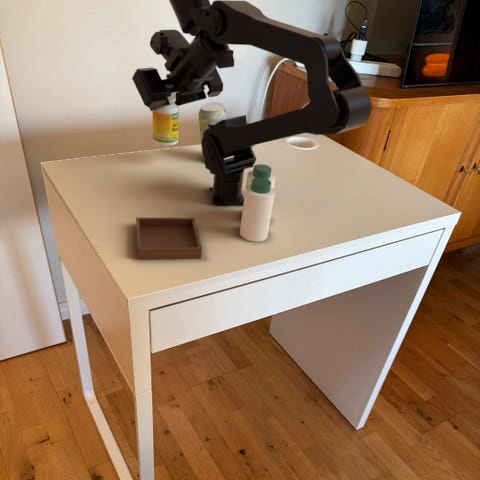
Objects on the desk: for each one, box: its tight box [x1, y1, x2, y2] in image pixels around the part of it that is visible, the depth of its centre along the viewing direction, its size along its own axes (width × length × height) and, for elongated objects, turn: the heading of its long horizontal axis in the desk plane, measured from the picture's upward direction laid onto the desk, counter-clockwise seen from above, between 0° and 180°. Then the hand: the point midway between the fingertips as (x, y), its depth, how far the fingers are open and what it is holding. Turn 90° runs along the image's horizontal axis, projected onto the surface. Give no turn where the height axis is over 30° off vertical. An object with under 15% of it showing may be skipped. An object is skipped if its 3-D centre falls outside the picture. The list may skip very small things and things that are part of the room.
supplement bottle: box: [151, 93, 180, 147], centre depth 94 cm, size 5×5×10 cm
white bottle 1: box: [245, 163, 276, 189], centre depth 83 cm, size 5×5×10 cm
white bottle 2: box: [239, 177, 276, 243], centre depth 78 cm, size 5×5×10 cm
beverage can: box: [197, 102, 228, 160], centre depth 101 cm, size 6×7×12 cm
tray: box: [135, 217, 203, 260], centre depth 76 cm, size 10×10×2 cm
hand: (161, 106), depth 93 cm, fingers closed on supplement bottle, 5 cm apart
